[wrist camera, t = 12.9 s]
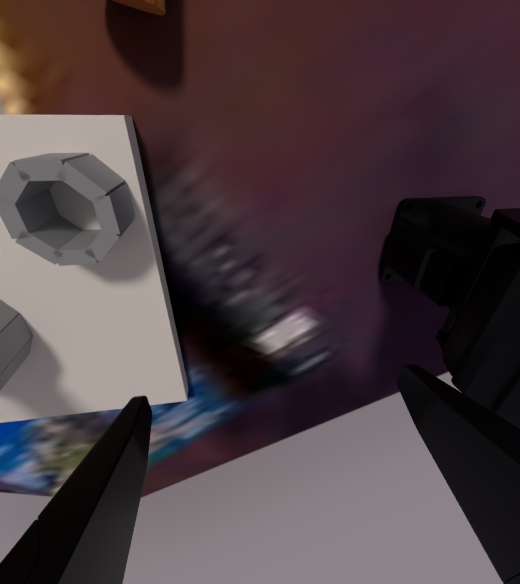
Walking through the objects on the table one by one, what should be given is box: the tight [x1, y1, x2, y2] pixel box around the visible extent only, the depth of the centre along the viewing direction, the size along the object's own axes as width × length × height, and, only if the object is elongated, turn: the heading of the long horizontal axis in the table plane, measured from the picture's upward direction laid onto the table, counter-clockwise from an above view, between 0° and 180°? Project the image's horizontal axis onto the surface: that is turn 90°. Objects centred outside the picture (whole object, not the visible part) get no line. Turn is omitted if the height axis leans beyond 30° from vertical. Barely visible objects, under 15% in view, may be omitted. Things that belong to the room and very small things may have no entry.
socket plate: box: [0, 115, 188, 423], centre depth 17 cm, size 18×22×5 cm
